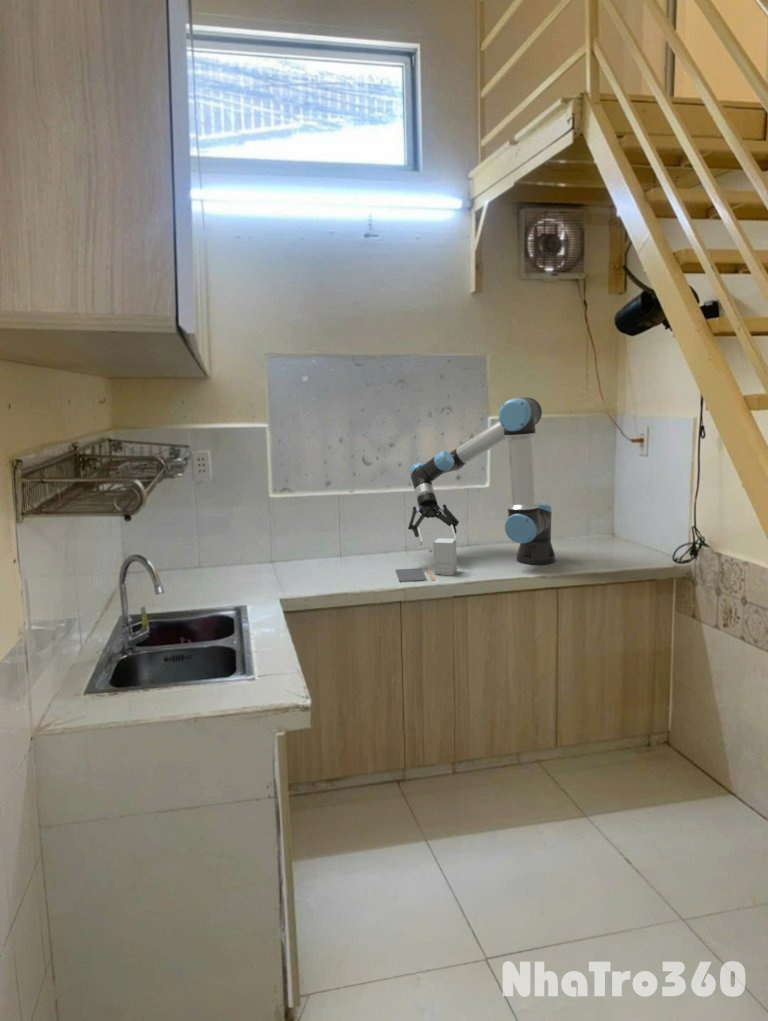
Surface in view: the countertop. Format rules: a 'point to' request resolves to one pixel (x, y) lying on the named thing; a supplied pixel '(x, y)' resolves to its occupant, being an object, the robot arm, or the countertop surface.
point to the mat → (410, 574)
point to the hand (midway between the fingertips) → (438, 541)
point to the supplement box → (445, 556)
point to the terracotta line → (430, 574)
